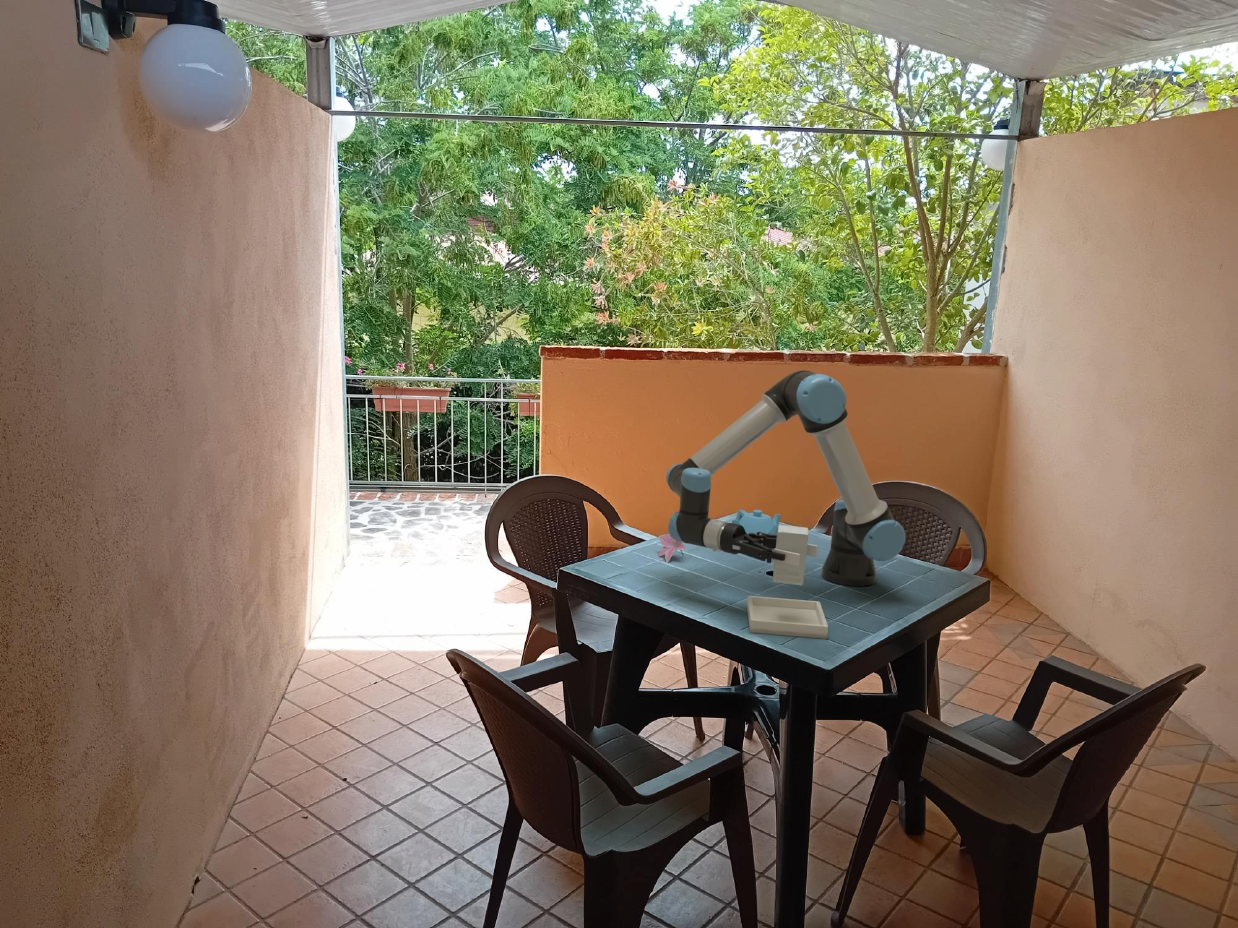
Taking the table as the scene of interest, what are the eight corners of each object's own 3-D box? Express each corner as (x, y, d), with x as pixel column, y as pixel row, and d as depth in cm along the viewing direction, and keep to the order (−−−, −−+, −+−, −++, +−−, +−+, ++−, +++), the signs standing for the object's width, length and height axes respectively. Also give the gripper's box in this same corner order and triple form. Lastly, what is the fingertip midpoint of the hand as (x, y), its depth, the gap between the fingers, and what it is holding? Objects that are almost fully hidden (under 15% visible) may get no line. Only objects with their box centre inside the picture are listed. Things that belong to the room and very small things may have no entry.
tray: (818, 612, 238) (819, 601, 237) (826, 638, 220) (828, 626, 220) (746, 606, 239) (747, 595, 239) (749, 632, 222) (750, 620, 221)
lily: (658, 553, 286) (648, 529, 282) (695, 541, 285) (685, 516, 280) (663, 576, 276) (653, 551, 271) (701, 564, 275) (691, 538, 270)
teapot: (780, 539, 306) (783, 507, 304) (778, 552, 291) (781, 518, 289) (733, 534, 309) (736, 502, 307) (729, 546, 294) (732, 513, 292)
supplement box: (803, 585, 224) (808, 534, 221) (772, 582, 225) (776, 531, 222) (804, 576, 231) (808, 527, 228) (773, 573, 232) (778, 523, 230)
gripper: (745, 542, 246) (825, 561, 233) (702, 560, 228) (786, 581, 216) (747, 515, 245) (828, 531, 232) (704, 530, 227) (789, 549, 214)
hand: (807, 555), depth 224 cm, fingers closed on supplement box, 9 cm apart
